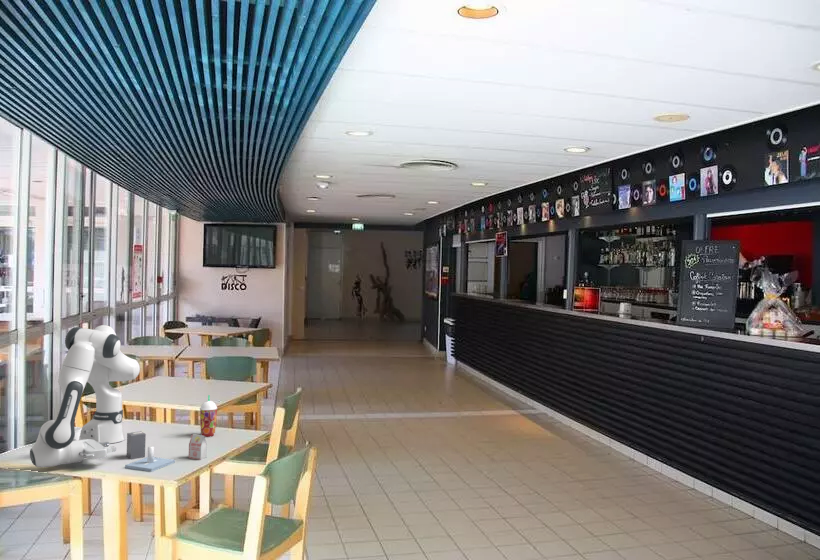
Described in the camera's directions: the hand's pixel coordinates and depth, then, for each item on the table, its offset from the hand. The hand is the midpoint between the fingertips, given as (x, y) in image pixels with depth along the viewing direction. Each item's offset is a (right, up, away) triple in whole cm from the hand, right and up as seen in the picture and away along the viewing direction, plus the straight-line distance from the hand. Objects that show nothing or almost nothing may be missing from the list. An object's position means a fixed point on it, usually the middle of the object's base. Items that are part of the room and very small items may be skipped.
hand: (112, 446), depth 267 cm
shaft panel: (+19, -6, -6) cm, 20 cm away
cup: (-22, -6, +7) cm, 24 cm away
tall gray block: (+7, -6, +6) cm, 11 cm away
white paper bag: (+34, -7, +7) cm, 35 cm away
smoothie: (+26, -7, +47) cm, 54 cm away
